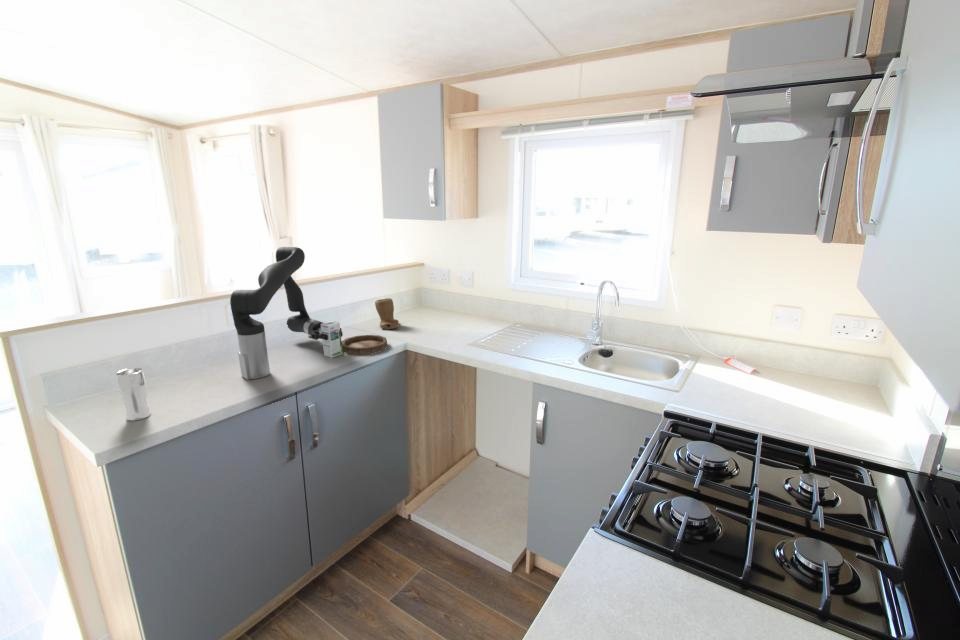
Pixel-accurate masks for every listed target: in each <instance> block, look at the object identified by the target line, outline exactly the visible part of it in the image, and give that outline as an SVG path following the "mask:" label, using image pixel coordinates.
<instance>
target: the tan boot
mask: <svg viewBox="0 0 960 640" xmlns="http://www.w3.org/2000/svg"><path fill="white" fill-rule="evenodd" d="M374 306H375V309H376V312H377V314H378V316H379V318H380V323H379V327H380V328H382V329H384V330H394V329H396V328H398V327H399V319H395V317H394V311H395V306H394V301H393V299H392V298H390V297H389V298H388V297H386V298H382V299H377V300H375V301H374Z"/></svg>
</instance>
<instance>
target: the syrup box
mask: <svg viewBox="0 0 960 640" xmlns="http://www.w3.org/2000/svg"><path fill="white" fill-rule="evenodd" d="M340 328H341V324H340V322H339V321H334V320H331V321H327V322H323V323H322V324H321V332H322V334H326V335H327V336H328V340H324V339H321V340H322V341H321V342H322V348H323V356H325V357H328V358H331V359H333V358H334V357H338V356H342V355H343V354H344V352H343V351H342V342H341V341H342V337H341V332H340ZM332 357H333V358H332Z"/></svg>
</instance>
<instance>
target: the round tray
mask: <svg viewBox="0 0 960 640" xmlns="http://www.w3.org/2000/svg"><path fill="white" fill-rule="evenodd" d="M341 342H342V351H343V353H344V352H345V353H344V354H347V355H352V354H354V356H363V354H366V355H372V354H371V353H374V354H376V353H375V352H377V353H380V352H379V351H381V352H383V351H385V350H386V349H387V348H388V340H387V337H385V336H382V335H378V334H361V335H354V336H351V337H347V338H345V339H344V340H341ZM386 347H387V348H386ZM385 348H386V349H385Z"/></svg>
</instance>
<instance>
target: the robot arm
mask: <svg viewBox="0 0 960 640" xmlns="http://www.w3.org/2000/svg"><path fill="white" fill-rule="evenodd" d="M305 259H306V255H305V251H304V250H303V249H302V248H301V247H297V246H280V247H278V248H277V250H276V252H275V260H276V262H273V263H271V264H268V265H267V266H266V267H265V268H264V269H263V270H262V271H261V272H260V273H259V275H258V277H257V278H258V279H257V280H258V281H257V282H258V285H259V288H257V289H235V290H234V291H232V293H231V295H230V297H229V298H230V300H229V303H230V304H229V305H230V310H231V313H232V319H233V323H234V327H235V330H236V333H237V340H238V348H239V352H237V354H238V361H239V367H240V373H241V377H243V378H244V379H246V380H247V381H249V380H256V379H257V380H259V379H262V378H265V377H267V376H269V375H270V373H271V371H270V369H271V368H270V362H269V361H270V360H269V355H268V353H269V352H268V348H267V347H268V345H267V338H266V331H265V325H264V323H263V322H262V321H259V320H257V319H254V318H253V317H251V316H252V315H253V316H257V315H260V314H263V312H264V311H265V310H266V309H267V307H268V306H269V304H270V302H271V300H272V299H273V297H274V296H275V294H276V293H277V292H278V291H279V290H280V289H281V288H282V286H284V290H285V294H286V299H287V301H286V302H287V306H288V310H289V311H290V312H292V313H299V314H296V315H293V316H290V317H288V319H287V321H286V326H287V325H288V326H287V328H288V330H290V331H291V332H295V333H304V334H306V335H308V338H309V339H312V340H316V341H317V340H322V339H324V340H328V336H327V335H326V334H322V332H321V324H322V323H324V322H323V321H321V320H320V321H319V320H317V319H312V318H310V317H311V316H309V315H310V314H309V313H308V311H307V309H306V306H305V300H304V299H305V298H304V293H303V291H302V289H301V287H300V286H299V285H298V283H297V282H296V281H295V280H294V278H293V276H292V275H293V274H294V273H295V272H297V271H298V270H299V269H301V267H302V266H303V265H304V263H305ZM340 332H341V338H342V337H343V336H344V334H343V333H344V332H343V331H342V327H340Z"/></svg>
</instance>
